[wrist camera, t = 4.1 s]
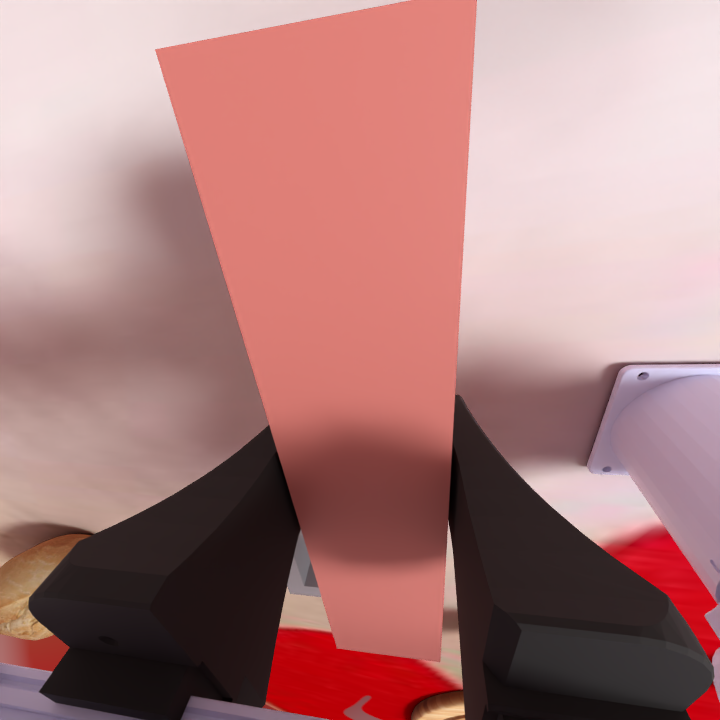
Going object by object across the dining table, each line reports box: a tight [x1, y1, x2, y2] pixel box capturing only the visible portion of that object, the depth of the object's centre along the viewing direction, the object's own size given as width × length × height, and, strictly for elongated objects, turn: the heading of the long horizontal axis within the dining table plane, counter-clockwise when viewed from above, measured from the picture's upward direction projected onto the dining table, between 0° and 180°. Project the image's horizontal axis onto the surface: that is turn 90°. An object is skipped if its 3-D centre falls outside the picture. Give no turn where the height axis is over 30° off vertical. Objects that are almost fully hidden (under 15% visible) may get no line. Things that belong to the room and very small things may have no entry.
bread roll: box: [0, 534, 92, 640], centre depth 36 cm, size 10×15×8 cm, turn 133°
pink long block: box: [155, 0, 477, 662], centre depth 11 cm, size 4×18×5 cm, turn 6°
